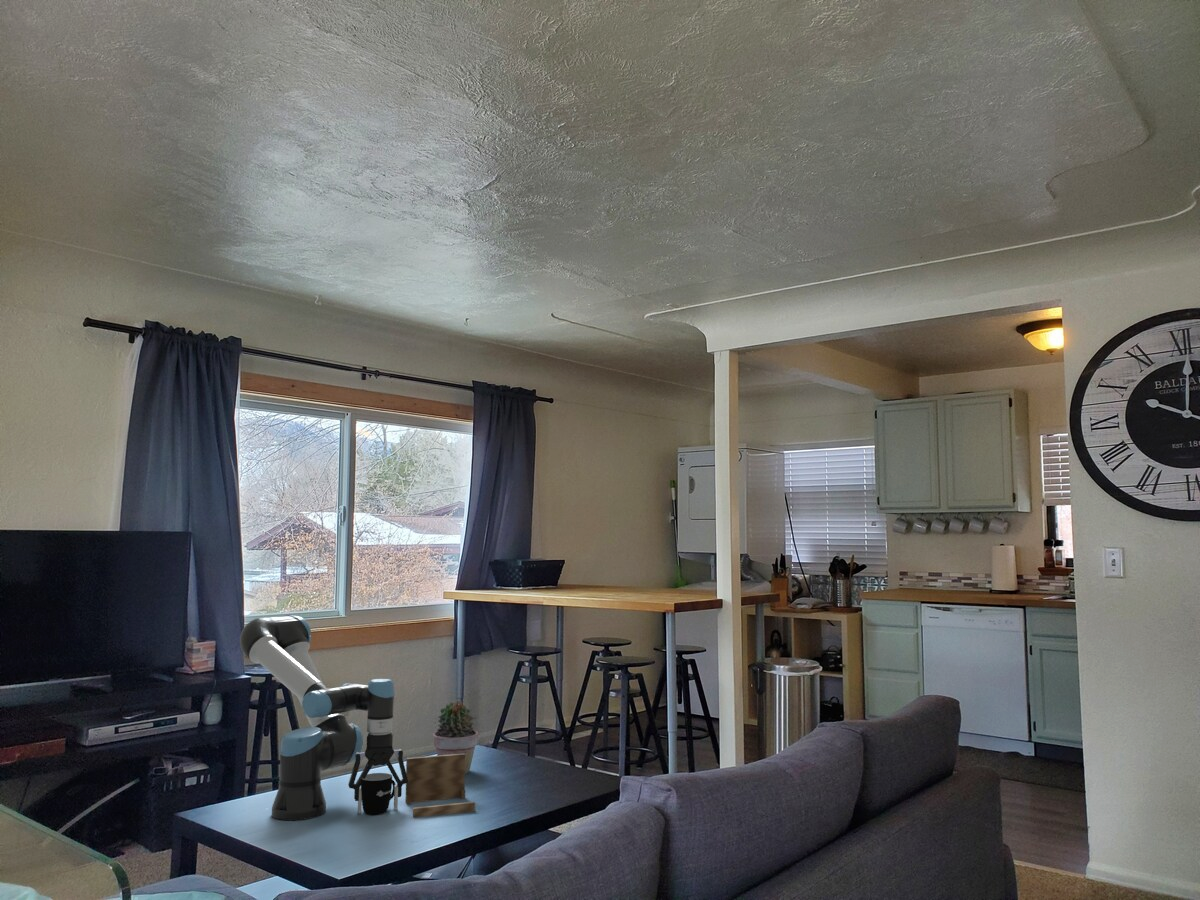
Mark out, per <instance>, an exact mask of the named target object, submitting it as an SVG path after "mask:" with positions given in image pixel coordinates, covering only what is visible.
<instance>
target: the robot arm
mask: <svg viewBox="0 0 1200 900" xmlns="http://www.w3.org/2000/svg"><path fill="white" fill-rule="evenodd" d="M311 634H312V629H311V627H310V624H309V622H308V621H307V620H306V619H305V618H304V617H301V616H298V615H289V614H288V615H282V616H269V617H258V618H254V619H252V620H251V621H249V622H248V623H246V624H245V626H244V627H243V628H242V631H241V632H240V636H239V645H240V648H241V652H243V654H244V656H246V658H247V659H249V660H250V661H251V662H252V663H254V664H259V665H261V666H262V667H263V668H264V669H265V670H267V671H268V673H270V674H271V675H272V676H273V677H274V678H275V679H277V681H279V682H280V683H281V684H282V685H284V687H285V688H287V689H288V690H289V691H290V692H291V693H292V694H293V695H294V696H296V697H297V699H298V701H299V703H300V706H301V708H302V711H303V713H304V715H305V716H306V718H307V720H308V723H309V725H310V726H307V727H304V728H303V727H301V728H296V729H293V730H290V731H289V732H287V733H285V734H284V735H283V736H282V738H281V741H280V748H279V754H280V755H279V778H278V779H279V780H278V782H279V783H278V790H277V792H276V795H275V798H274V800H273V803H272V807H271V817H272V818H274V819H276V820H280V819H281V820H282V821H297V820H298V821H299V820H306V819H312V818H316V817H319V816H321V815H323V814H324V813H326V811H327V801H326V798H325V794H324V790H323V788H322V783H321V782H322V781H321V777H322V771H326V770H330V769H334V768H337V767H344V766H346V765H348V764H351V763H353V762H354V763H353V767H352V772H351V773H350V777H349V781H348V788H349V789H353V791H354V794H353V795H354V796H353V797H354V801H355V802H357V813H358V814H362V793H361V779H362V778H363V779H365V777H366V776H367V774H369V772H370V770H371V769H372V768H373V766H374V767H375V766H376V767H377V766H385V765H386V766H387V768H388V769H389V771H390V773H391V775H392V778H393V779H394V782H395V783H396V785H394V796H393V809H394V810H395V811H397V810H398V806H399V805H398V801H399V798H401V797H402V794H403V793H402V789H403V788H402V786H403V785H406V783H408V778H407V774H406V767H405V766H406V765H405V763H404V759H403V755H404V751H403V750H402V749H401V748H398V749H394V747H393V737H394V736H393V735H394V734H393V732H392V731H394V702H395V701H394V700H395V687H394V682H393V680H392V679H390V678H374V679H371V680H369V681H368V684H361V683H357V682H356V683H355V682H352V683H351V682H350V683H349V682H348V683H344V684H342V685H340V686H338V687H331V688H330V687H328V686H327V685H326V684H324V683H323V681H322V679H321V675H319V673H318V670H317V668H316V666H315V664H314V661H313V660H312V658H311V656H310V653H309V650H310V648H311V645H310V643H311V641H312V635H311ZM356 710H357V711H365V712H367V722H366V723H367V724H366V731H367V735H366V748H365V751H363V752H362V749H363V745H364V739H363V738H364V737H363V732H362V730H361V728H360V727H359V725H357V724H355V723H348V720H347V718H346V717H345V714H343V713H346V712H351V711H356ZM393 755H395V756H394V757H396V758H397V761H398V762H397V763H398V764H399V770H400V774H401V778H402V779H400V776H399V775H398V774H397V772H396V770H395V768H394V766H393V765H392V763H391V758H392V757H393ZM364 757H365V758H366V759H367V761H366V764H365V767H364V768H363V770H362V772H361V773H360V776H359V777H358V778H357V779H356V777H357V774H358V772H359V768H360V765H361V761H363V759H364ZM355 782H356V783H355Z"/></svg>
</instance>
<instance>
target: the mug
mask: <svg viewBox="0 0 1200 900" xmlns="http://www.w3.org/2000/svg"><path fill="white" fill-rule="evenodd" d="M394 785H397V783H396V781H395V779H394V780H393V775H392V773H391V774H390V773H386V772H374V773H373V772H372V773H368V774H367V776H366V777H365V779H363V778H362V779H361V786H360V788H361V793H362V802H361V807H362V811H363V812H364V814H366V815H367V816H378V815H383V814H386V813H387V811H388V809H389V807H390V802H391V800H392V799H394Z"/></svg>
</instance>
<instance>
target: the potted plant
mask: <svg viewBox="0 0 1200 900" xmlns="http://www.w3.org/2000/svg"><path fill="white" fill-rule="evenodd" d="M440 712H441V713H440V715H438V717H437V718H434V720H435V719H437V720H438V721H437V722H436V721H435V722H434V724H436V723H439V724H438V725H437V728H438V729H436V731H435V732H433V734H432V740H433V747H434V748H435V751H436V756H438V755H450V754H463V753H464V754H465V775H467V774H469V773H470V771H471V766H472V762H473V758H474V754H475V753H474V752H475V748H476V747H477V745H478V737H479V732H478V731H477V730H474V726H475V725H476V724H474V722H472V721H473V720H476V718H477V719H478V717H476V716H475V717H474V716H473V715H472V713H471V709H470V708H469V709H468V707H466V705H464V704H463V702H462V701H457V702H452V701H451V702H449V704H448V703H447V704H446V705H445V707H443V708H441V709H440ZM473 725H474V726H473Z"/></svg>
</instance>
